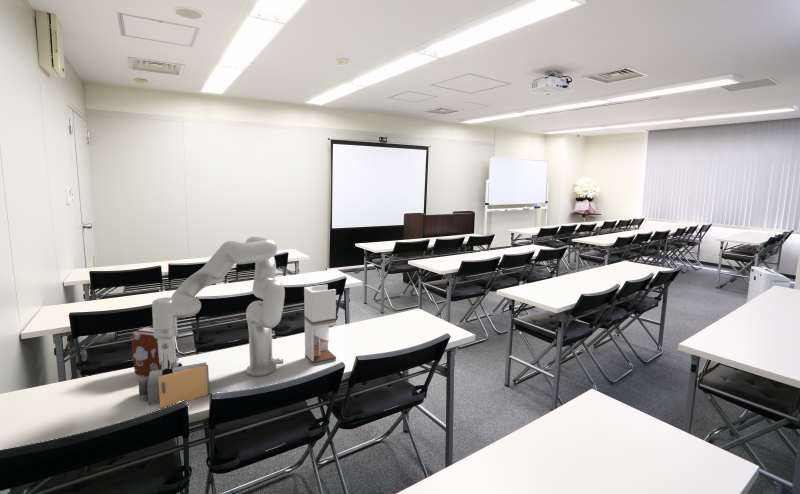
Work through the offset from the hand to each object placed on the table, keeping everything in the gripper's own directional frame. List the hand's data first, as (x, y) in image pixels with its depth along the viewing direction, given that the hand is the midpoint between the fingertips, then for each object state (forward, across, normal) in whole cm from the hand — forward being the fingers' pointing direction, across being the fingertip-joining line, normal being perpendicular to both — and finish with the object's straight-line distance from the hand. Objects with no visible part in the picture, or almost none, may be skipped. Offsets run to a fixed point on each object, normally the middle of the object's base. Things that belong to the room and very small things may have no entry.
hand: (167, 378), depth 149 cm
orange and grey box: (+10, +7, -2) cm, 12 cm away
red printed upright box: (+10, +27, +5) cm, 29 cm away
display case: (+9, +14, -62) cm, 64 cm away
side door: (+9, -2, -6) cm, 11 cm away
